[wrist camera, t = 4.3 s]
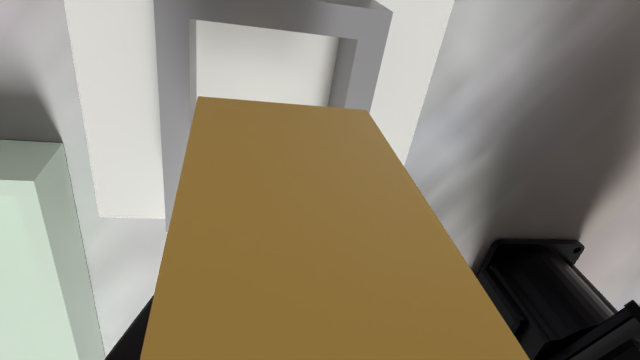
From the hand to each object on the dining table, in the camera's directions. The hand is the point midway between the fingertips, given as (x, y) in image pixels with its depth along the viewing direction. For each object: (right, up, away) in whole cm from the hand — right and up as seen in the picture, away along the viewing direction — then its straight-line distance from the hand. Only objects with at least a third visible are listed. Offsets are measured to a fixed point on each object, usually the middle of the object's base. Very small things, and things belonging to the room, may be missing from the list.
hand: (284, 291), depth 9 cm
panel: (-2, +6, +9) cm, 11 cm away
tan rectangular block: (0, +2, +2) cm, 3 cm away
